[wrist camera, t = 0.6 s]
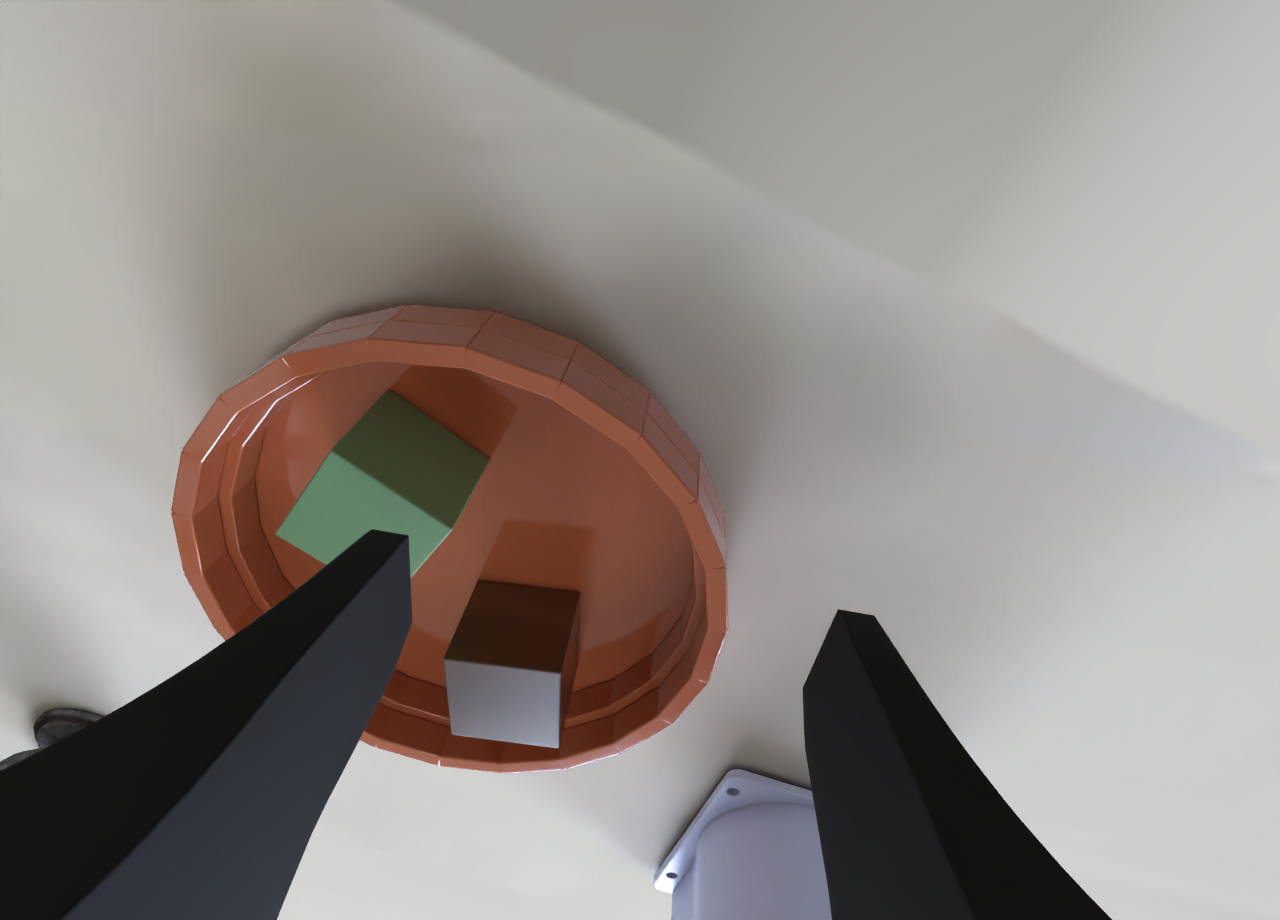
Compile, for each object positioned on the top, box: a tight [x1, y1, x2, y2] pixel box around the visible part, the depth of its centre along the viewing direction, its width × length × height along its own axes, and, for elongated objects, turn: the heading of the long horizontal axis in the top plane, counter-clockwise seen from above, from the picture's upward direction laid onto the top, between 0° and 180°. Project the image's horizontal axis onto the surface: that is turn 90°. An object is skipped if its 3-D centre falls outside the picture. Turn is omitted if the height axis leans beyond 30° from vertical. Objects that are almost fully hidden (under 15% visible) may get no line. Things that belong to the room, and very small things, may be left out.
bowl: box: [171, 305, 728, 773], centre depth 21 cm, size 16×16×3 cm
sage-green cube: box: [276, 390, 490, 578], centre depth 19 cm, size 4×4×4 cm
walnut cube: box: [443, 580, 581, 748], centre depth 22 cm, size 4×4×4 cm
